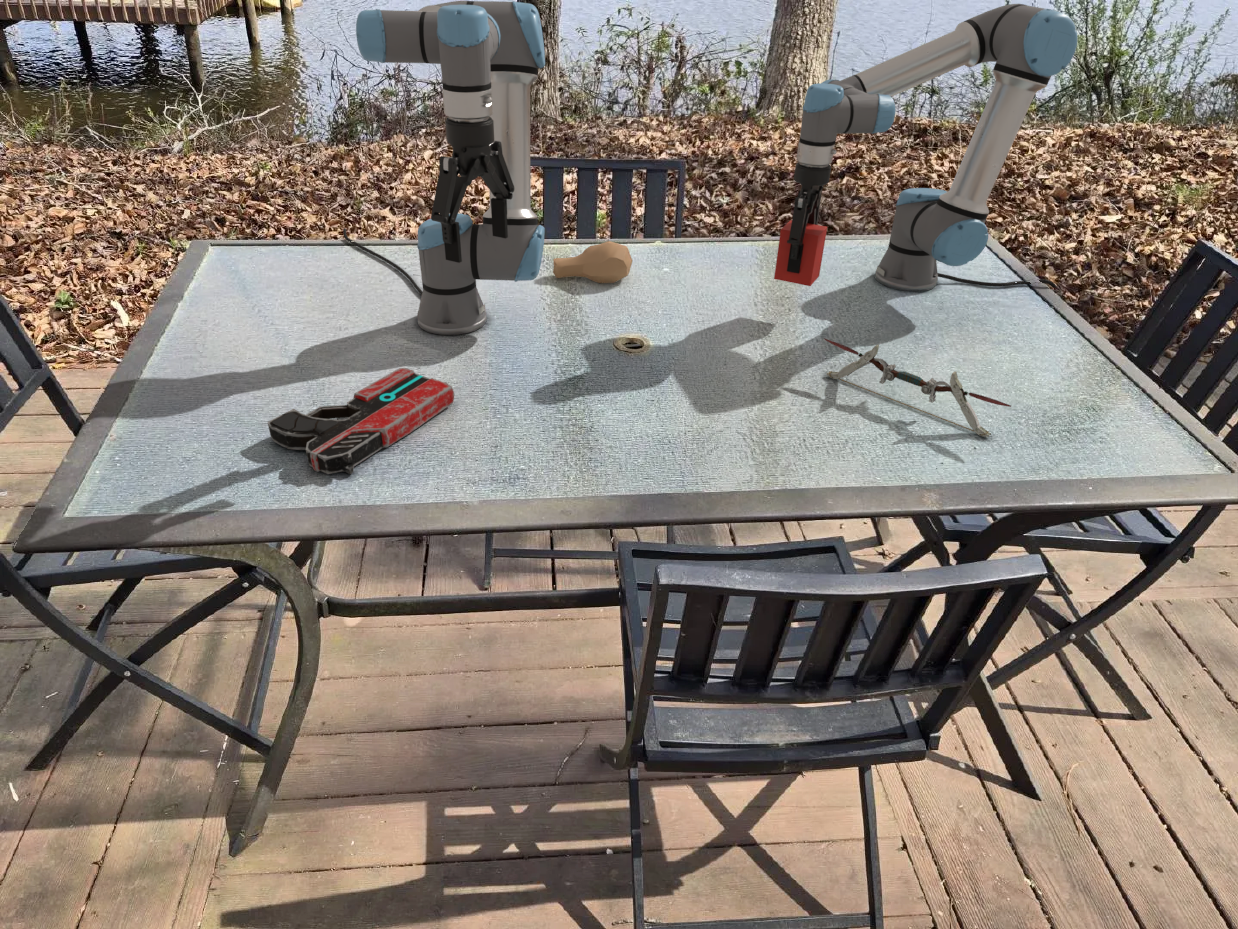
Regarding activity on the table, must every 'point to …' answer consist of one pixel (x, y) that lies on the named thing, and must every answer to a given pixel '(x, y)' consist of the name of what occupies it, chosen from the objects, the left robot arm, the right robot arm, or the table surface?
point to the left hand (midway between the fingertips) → (477, 248)
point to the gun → (362, 421)
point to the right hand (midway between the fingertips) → (798, 266)
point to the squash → (596, 263)
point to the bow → (927, 387)
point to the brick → (810, 255)
